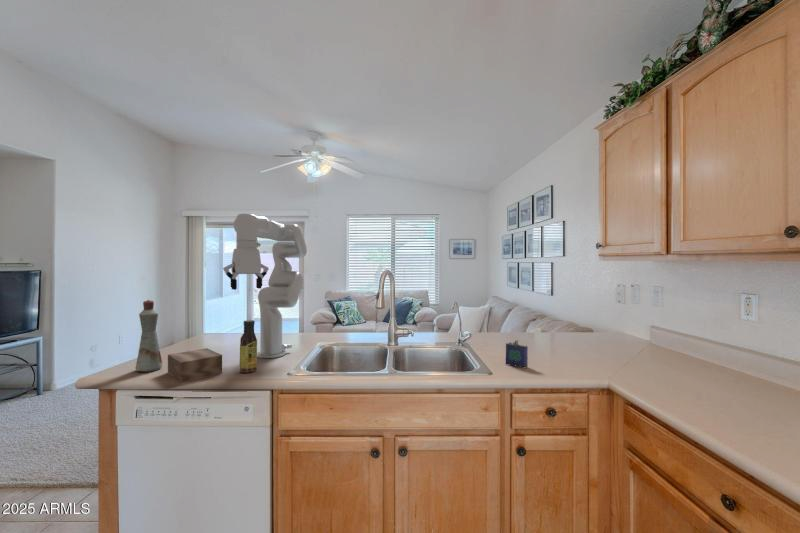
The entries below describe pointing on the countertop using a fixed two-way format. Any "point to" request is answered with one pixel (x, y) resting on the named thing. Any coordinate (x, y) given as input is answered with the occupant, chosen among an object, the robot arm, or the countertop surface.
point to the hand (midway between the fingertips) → (246, 288)
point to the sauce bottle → (248, 348)
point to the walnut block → (194, 364)
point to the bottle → (148, 340)
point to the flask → (516, 354)
